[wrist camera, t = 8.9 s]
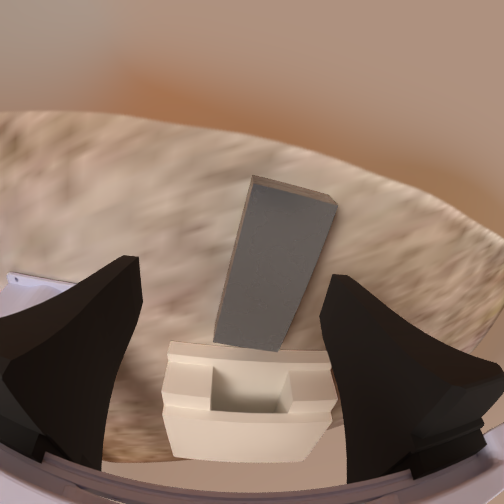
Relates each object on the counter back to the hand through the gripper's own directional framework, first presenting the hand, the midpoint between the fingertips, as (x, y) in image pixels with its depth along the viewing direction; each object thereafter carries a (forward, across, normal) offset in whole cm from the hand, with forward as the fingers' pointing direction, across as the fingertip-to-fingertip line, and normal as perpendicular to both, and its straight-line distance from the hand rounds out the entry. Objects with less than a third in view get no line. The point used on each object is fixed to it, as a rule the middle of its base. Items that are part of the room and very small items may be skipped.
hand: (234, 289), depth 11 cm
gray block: (+9, -2, +4) cm, 10 cm away
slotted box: (+9, -2, +18) cm, 20 cm away
